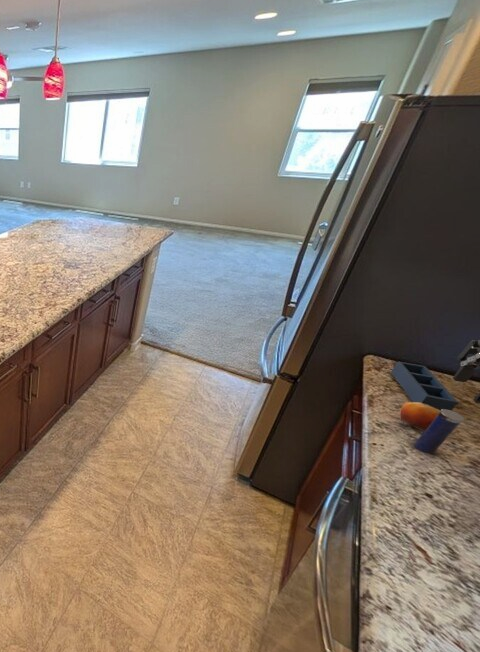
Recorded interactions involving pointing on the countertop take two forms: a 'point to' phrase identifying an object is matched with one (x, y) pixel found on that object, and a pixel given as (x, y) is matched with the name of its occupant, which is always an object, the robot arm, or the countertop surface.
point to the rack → (423, 386)
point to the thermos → (438, 431)
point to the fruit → (418, 415)
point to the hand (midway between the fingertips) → (468, 391)
